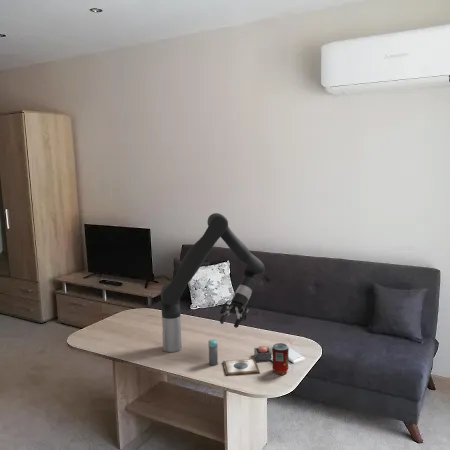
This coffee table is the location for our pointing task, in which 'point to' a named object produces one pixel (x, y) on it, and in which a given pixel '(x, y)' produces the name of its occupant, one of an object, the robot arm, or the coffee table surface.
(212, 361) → the marker
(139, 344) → the coffee table surface
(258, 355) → the button housing
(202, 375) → the coffee table surface
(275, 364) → the soda can
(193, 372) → the coffee table surface
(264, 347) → the button
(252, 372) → the board
